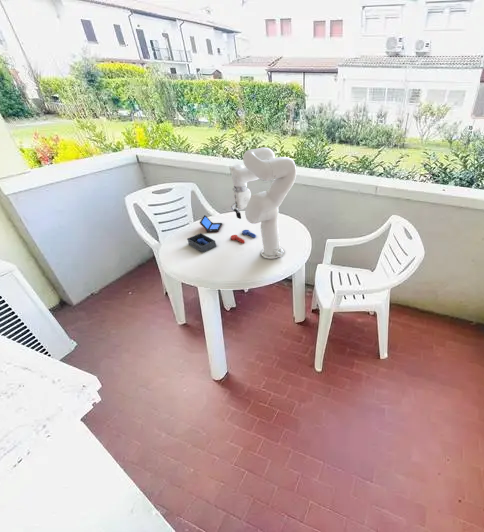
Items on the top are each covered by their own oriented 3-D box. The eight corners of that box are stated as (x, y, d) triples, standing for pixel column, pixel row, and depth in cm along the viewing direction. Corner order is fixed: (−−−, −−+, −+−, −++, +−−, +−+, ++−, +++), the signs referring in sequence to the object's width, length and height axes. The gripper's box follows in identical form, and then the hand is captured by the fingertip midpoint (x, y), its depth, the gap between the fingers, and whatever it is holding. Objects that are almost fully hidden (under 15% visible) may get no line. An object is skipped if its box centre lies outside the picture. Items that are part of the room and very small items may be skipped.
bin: (216, 246, 169) (215, 240, 167) (202, 252, 163) (201, 246, 161) (202, 238, 177) (200, 233, 175) (188, 244, 171) (187, 238, 169)
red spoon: (247, 242, 174) (246, 238, 173) (241, 244, 171) (240, 241, 170) (235, 236, 180) (234, 233, 179) (229, 238, 177) (229, 235, 176)
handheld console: (218, 232, 184) (216, 222, 180) (201, 233, 184) (199, 222, 179) (222, 224, 194) (220, 214, 190) (207, 224, 194) (204, 214, 190)
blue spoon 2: (258, 236, 180) (257, 233, 178) (253, 239, 177) (252, 236, 176) (246, 231, 186) (245, 228, 184) (241, 233, 183) (240, 230, 182)
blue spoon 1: (213, 245, 169) (212, 242, 168) (207, 248, 167) (206, 245, 165) (202, 239, 175) (201, 236, 174) (196, 242, 173) (195, 238, 171)
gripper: (232, 193, 153) (238, 222, 163) (256, 185, 165) (260, 212, 174) (224, 190, 157) (229, 218, 167) (248, 182, 169) (252, 209, 178)
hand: (245, 215), depth 171 cm, fingers open, 9 cm apart
